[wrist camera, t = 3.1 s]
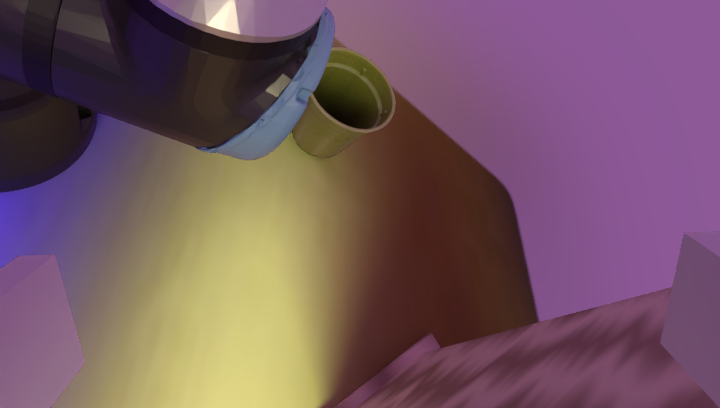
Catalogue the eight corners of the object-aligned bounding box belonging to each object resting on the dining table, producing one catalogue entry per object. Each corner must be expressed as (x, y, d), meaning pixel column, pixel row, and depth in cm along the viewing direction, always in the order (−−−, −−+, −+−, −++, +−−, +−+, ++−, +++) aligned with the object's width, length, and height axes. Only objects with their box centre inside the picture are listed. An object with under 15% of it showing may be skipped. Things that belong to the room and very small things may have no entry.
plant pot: (319, 83, 57) (351, 33, 50) (372, 147, 57) (412, 105, 50) (258, 118, 52) (285, 67, 45) (317, 188, 52) (353, 148, 45)
